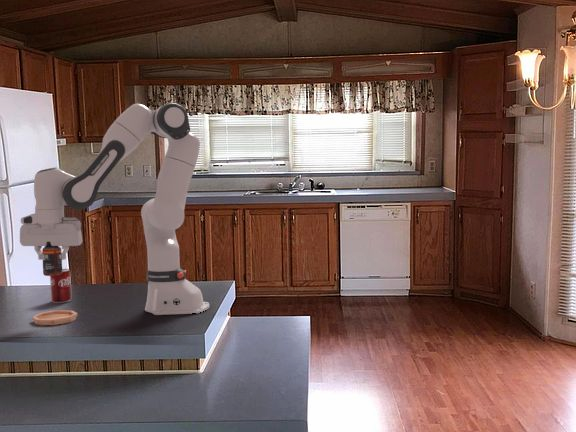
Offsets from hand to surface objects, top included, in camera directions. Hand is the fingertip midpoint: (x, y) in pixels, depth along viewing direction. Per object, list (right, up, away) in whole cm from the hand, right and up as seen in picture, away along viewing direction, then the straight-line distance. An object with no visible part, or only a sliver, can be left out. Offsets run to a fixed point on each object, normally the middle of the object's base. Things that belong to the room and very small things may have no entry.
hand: (52, 259), depth 200 cm
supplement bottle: (0, -5, 0) cm, 5 cm away
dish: (0, -20, +2) cm, 20 cm away
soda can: (-8, -18, +30) cm, 36 cm away
